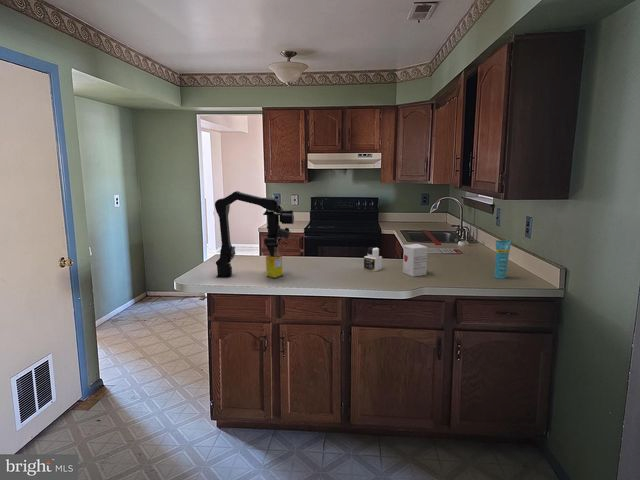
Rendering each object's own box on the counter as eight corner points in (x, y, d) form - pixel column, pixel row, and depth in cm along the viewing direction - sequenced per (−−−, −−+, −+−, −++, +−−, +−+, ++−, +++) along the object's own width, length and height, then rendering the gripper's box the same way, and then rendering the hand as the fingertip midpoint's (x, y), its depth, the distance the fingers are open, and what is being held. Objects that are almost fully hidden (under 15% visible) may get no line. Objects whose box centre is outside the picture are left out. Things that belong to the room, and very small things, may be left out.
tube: (495, 279, 204) (498, 241, 200) (490, 276, 209) (493, 239, 205) (509, 278, 204) (513, 241, 201) (505, 276, 209) (508, 239, 205)
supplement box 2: (402, 272, 216) (403, 244, 214) (416, 270, 220) (417, 243, 217) (412, 277, 208) (413, 248, 205) (426, 275, 212) (428, 246, 209)
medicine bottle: (363, 269, 223) (363, 247, 221) (371, 266, 228) (371, 245, 226) (374, 271, 218) (374, 249, 216) (382, 269, 223) (382, 247, 221)
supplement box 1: (274, 274, 214) (274, 253, 212) (282, 276, 210) (282, 255, 208) (266, 276, 209) (265, 256, 207) (274, 279, 206) (273, 257, 203)
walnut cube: (269, 256, 206) (269, 249, 205) (270, 254, 210) (270, 247, 209) (277, 256, 206) (277, 249, 205) (278, 255, 209) (278, 247, 209)
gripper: (286, 227, 195) (287, 259, 198) (291, 221, 213) (292, 250, 216) (263, 226, 195) (264, 258, 198) (270, 221, 214) (271, 250, 217)
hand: (274, 254), depth 207 cm, fingers open, 9 cm apart
